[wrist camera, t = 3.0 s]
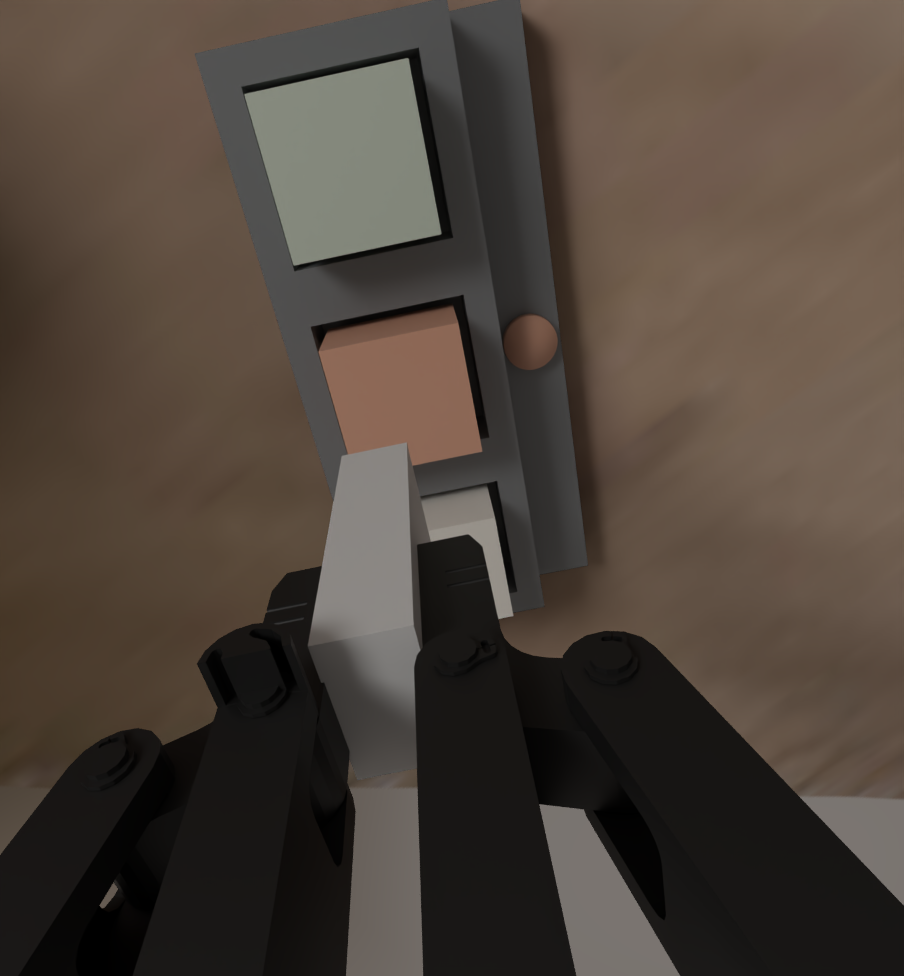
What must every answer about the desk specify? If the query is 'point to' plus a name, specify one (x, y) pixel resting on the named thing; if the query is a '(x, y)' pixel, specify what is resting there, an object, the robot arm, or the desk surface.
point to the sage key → (346, 161)
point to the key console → (435, 257)
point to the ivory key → (470, 531)
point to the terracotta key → (402, 385)
